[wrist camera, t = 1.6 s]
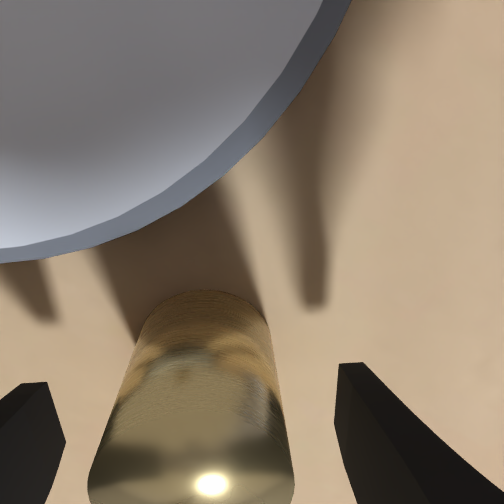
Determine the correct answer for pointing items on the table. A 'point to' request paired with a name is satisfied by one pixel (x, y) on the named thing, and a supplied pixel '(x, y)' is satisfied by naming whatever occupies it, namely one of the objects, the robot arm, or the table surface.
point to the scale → (137, 107)
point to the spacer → (197, 411)
